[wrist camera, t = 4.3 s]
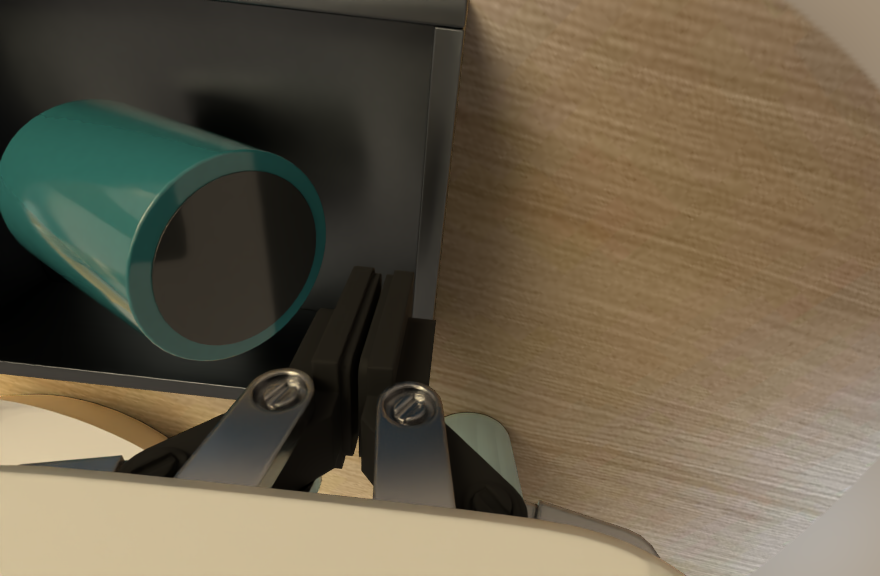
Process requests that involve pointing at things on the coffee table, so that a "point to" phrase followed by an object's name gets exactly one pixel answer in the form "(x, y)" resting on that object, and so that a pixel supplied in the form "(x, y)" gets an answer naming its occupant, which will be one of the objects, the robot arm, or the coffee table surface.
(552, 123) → the coffee table surface
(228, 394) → the dark grey shallow box
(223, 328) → the pot
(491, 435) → the cup
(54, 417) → the white plate
